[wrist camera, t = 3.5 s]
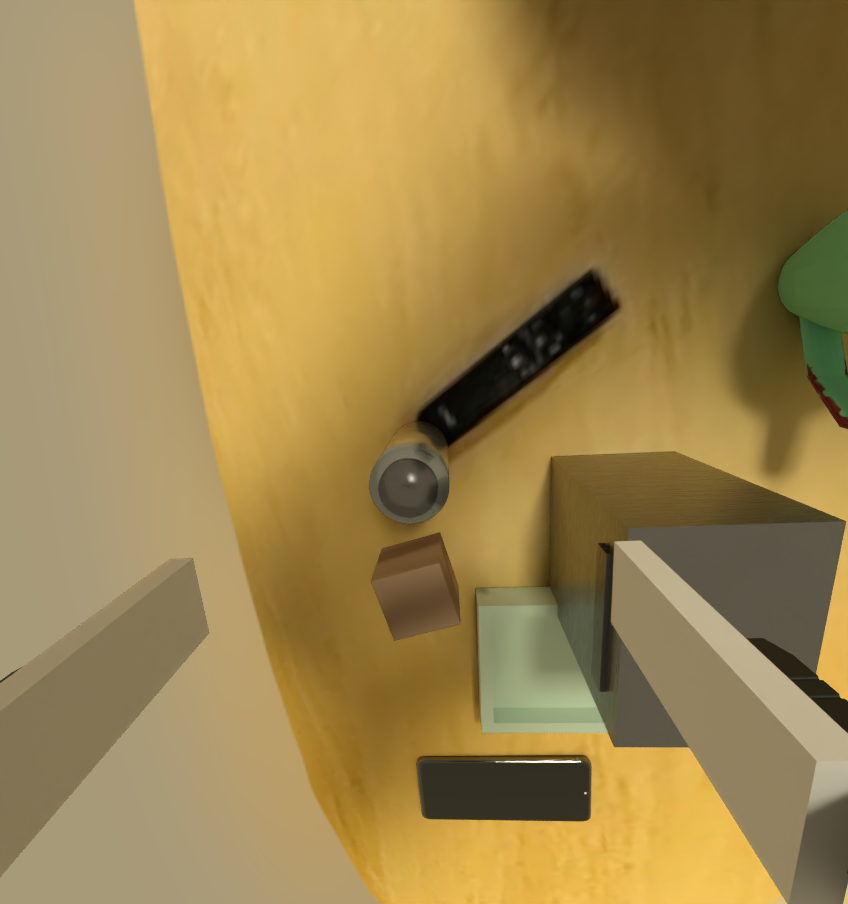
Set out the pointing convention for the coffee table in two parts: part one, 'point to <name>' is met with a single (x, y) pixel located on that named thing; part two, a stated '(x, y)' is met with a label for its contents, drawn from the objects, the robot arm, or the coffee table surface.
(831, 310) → the mug
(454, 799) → the smartphone
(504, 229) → the coffee table surface
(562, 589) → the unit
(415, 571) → the walnut block
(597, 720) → the tray
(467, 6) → the coffee table surface
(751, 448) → the coffee table surface
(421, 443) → the cartridge
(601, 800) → the coffee table surface
